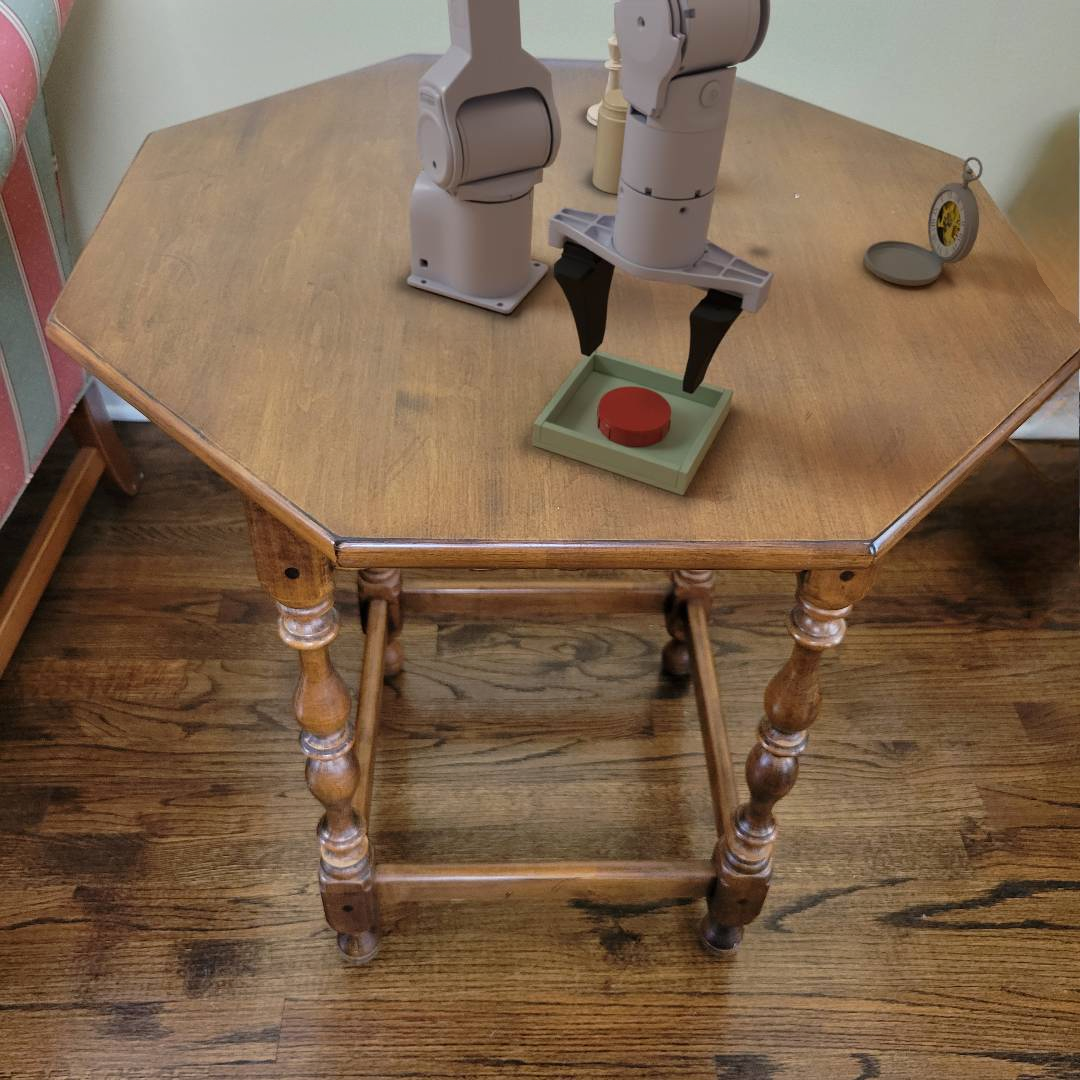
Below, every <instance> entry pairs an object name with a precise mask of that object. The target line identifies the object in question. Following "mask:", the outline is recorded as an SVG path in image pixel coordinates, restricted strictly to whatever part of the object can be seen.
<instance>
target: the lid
mask: <svg viewBox="0 0 1080 1080" xmlns="http://www.w3.org/2000/svg"><path fill="white" fill-rule="evenodd" d="M670 418H671V407H670V405H669V403H668V402H667V400H666V399H665V398H664V397H662V396H661V395H660V394H658V393H656V392H654V391H652V390H649V389H646V388H642V387H633V386H628V387H620V388H616V389H613V390H611V391H609V392H607V393H606V394H605V395H604V396H603V397H602V398H601V400H600V402H599V405H598V409H597V425H598V426H597V428H599V430H600V432H601V433H602V434H603V435H604V436H605V437H606V438H607V439H609V440H611V441H613V442H615V443H617V444H620V445H623V446H628V447H646V446H650V445H653V444H656V443H658V442H661V440H662V439H663V438H664V437H665V436H666V435H667V433H668V431H669V430H670V424H671V420H670Z"/></svg>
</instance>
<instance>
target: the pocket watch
mask: <svg viewBox="0 0 1080 1080" xmlns="http://www.w3.org/2000/svg"><path fill="white" fill-rule="evenodd" d="M970 161H975V162H977V164H978V166H979V170H978V174H977V175H976V176H974V175H973V174H972V173H974V170H973V169H972V168H971V167H970V168H967V165H968V163H969V162H970ZM983 170H984V169H983V164H982V162H981V160H980V159H979V158H978V157H976V156H970V157H968V158H967V159H965V161H964V163H963V166H962V175H961V178H962V180H963V181H962V182H961V183H960V182H949V183H946V184H945V185H943V186H942V187H941V188H940V189H939V191H937V193H936V195H935V196H934V198H933V201H932V203H931V207H930V210H929V214H928V221H927V236H928V241H929V244H930V248H931V250H929V249H928V248H925V247H923V246H921V245H918V244H916V243H911V242H909V241H903V240H902V241H901V240H882V241H876V242H874V243H871V245H869V246H868V247H867V248H866V250H865V252H864V255H863V256H864V257H863V261H864V264H865V266H866V268H867V269H868V270H869V271H870V272H871V273H873V274H874V275H875V276H876V277H878V278H880V279H882V280H884V281H886V282H890V283H892V284H896V285H900V286H901V285H902V286H909V287H911V286H914V287H915V286H917V287H918V286H922V285H923V286H924V285H928V284H930V283H932V282H934V281H936V280H937V279H938V278H939V276H940V275H941V273H942V269H943V266H944V265H945V264H947V265H950V264H951V265H952V264H956V263H958V262H962V261H963V260H965V258H967V256H969V254H970V253H971V251H972V250H973V248H974V246H975V243H976V241H977V237H978V234H979V233H978V232H979V227H980V212H979V211H980V210H979V204H978V201H977V197H976V196H975V193H974V192H973V190H972V189H971V188H970V187H969V184H970V183H972V182H974V181H977V180H978V179H980V178H981V176H982V174H983Z"/></svg>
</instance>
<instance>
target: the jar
mask: <svg viewBox="0 0 1080 1080" xmlns="http://www.w3.org/2000/svg"><path fill="white" fill-rule="evenodd" d="M602 100H603V102H602V105H601V106H600V107H599V110H598V120H597V126H596V134H595V142H594V143H595V144H594V154H593V158H594V159H593V166H592V176H591V177H592V178H591V182H592V184H593V186H594V187H595V188H596V189H598V190H600V191H602V192H605V193H609V194H613V195H618V189H619V179H620V171H621V162H622V153H623V143H624V134H625V125H626V116H627V106H628V101H626V100H625V99H624V98H623V95H622V88H619V89H617V90H612V91H609V92H607V93H606V94H605V93H604V95H603V99H602Z"/></svg>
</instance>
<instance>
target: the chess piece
mask: <svg viewBox="0 0 1080 1080" xmlns="http://www.w3.org/2000/svg"><path fill="white" fill-rule="evenodd" d="M611 33H612V34H614V35H613V36H611V37H609V38H608V39H607V40H606V42H607V43H606V44H607V47H608V53H609V57H610V58H609V59H608V60H606V61H605V63H604V67H605V68H606V69H607V70H609V72H608V76H607V77H608V79H607V83H606V88H605V92H604V95H605V94H606V93H607V92H609V91H612V90H617V89H620V71H621V70H622V63H621V55H620V51H619V47H618V43H617V39H616V34H615V27H613V28H612V31H611ZM603 100H604V99H602V100H600V102H599V103H595V104H593V105H591V106H589V108H588V110H587V114H586V120H587V121H588V122H589V123H590V124H591V125H593V126H595V127H597V120H598V110H599V107H600V106H601V105H602V102H603Z"/></svg>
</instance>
